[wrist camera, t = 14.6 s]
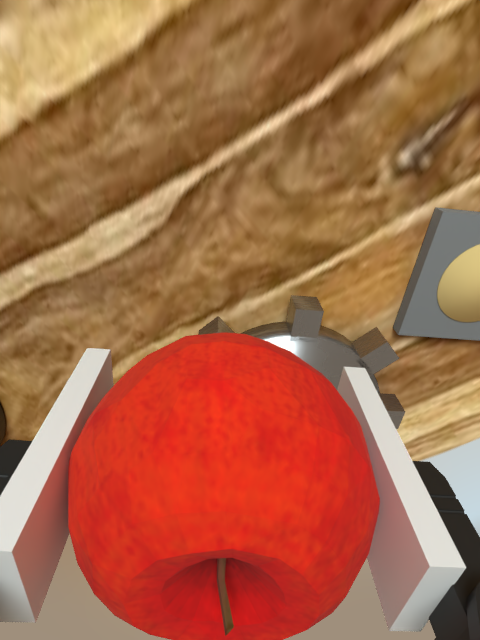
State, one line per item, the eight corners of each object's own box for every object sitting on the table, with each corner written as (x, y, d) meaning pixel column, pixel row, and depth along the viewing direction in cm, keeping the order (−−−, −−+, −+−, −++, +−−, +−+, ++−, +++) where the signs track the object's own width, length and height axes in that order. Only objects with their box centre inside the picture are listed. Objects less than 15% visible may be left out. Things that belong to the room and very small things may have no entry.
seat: (392, 327, 29) (398, 335, 28) (435, 207, 24) (444, 211, 23) (503, 335, 30) (513, 343, 29) (564, 220, 25) (577, 225, 24)
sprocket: (262, 498, 37) (270, 577, 30) (120, 389, 29) (94, 464, 23) (434, 404, 31) (485, 477, 25) (314, 243, 24) (346, 290, 18)
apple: (151, 471, 16) (94, 720, 10) (77, 307, 12) (-104, 540, 6) (342, 445, 15) (420, 694, 9) (328, 263, 11) (449, 470, 5)
